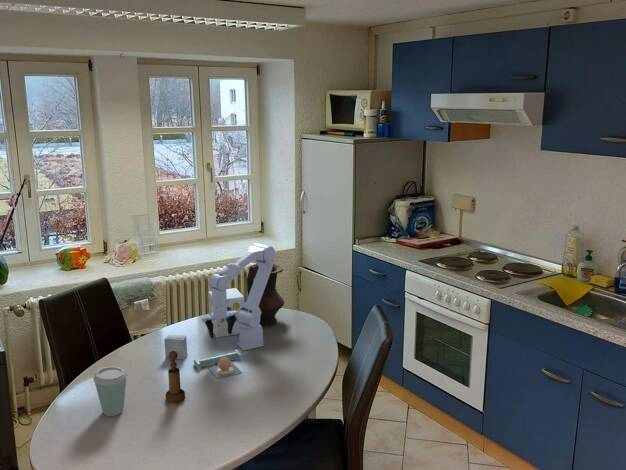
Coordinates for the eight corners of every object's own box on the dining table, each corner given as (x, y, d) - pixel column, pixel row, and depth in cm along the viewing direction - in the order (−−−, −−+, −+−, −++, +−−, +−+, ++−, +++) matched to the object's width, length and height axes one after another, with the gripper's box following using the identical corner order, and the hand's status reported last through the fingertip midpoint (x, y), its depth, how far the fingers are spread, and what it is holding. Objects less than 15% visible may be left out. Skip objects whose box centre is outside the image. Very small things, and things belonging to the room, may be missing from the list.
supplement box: (216, 337, 255) (214, 300, 251) (209, 327, 267) (207, 291, 263) (245, 333, 260) (244, 296, 256) (237, 322, 272) (236, 287, 268)
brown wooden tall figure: (168, 405, 200) (165, 357, 196) (163, 397, 205) (160, 350, 201) (187, 401, 203) (184, 353, 199) (182, 392, 208) (179, 346, 204)
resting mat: (232, 362, 232) (232, 362, 232) (242, 372, 223) (242, 372, 223) (208, 368, 227) (208, 367, 227) (217, 378, 219) (217, 378, 219)
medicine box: (187, 354, 239) (186, 335, 237) (184, 359, 234) (183, 339, 232) (169, 354, 239) (167, 334, 237) (165, 358, 235) (164, 338, 233)
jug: (260, 312, 286) (258, 253, 278) (292, 319, 277) (291, 258, 270) (233, 326, 268) (231, 264, 261) (266, 334, 259) (265, 270, 252)
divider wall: (236, 355, 238) (236, 349, 238) (241, 360, 234) (241, 354, 234) (194, 364, 230) (193, 359, 229) (198, 369, 226) (197, 364, 225)
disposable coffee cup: (129, 401, 202) (125, 361, 199) (130, 417, 193) (127, 375, 189) (96, 406, 199) (92, 366, 195) (96, 423, 189) (92, 381, 186)
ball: (225, 365, 229) (226, 354, 228) (233, 370, 225) (234, 358, 224) (215, 369, 225) (215, 357, 224) (223, 373, 222) (223, 361, 221)
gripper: (232, 297, 238) (233, 328, 241) (198, 303, 231) (200, 335, 235) (239, 303, 232) (240, 334, 235) (204, 309, 225) (206, 341, 229)
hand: (220, 335), depth 235 cm, fingers open, 7 cm apart
